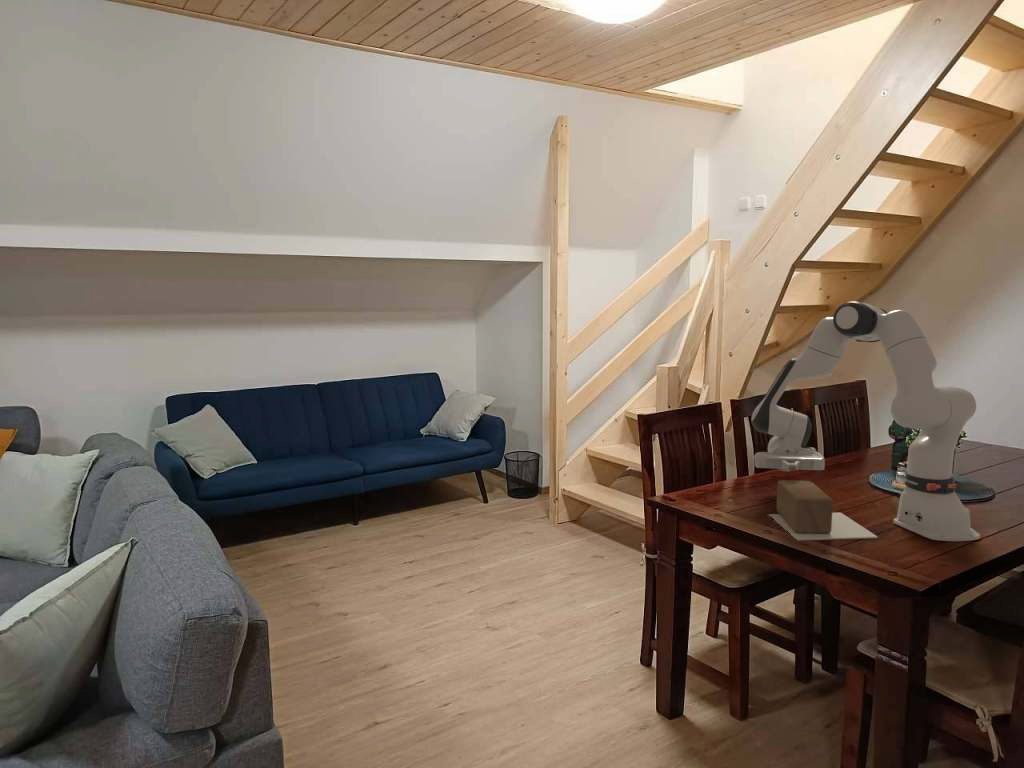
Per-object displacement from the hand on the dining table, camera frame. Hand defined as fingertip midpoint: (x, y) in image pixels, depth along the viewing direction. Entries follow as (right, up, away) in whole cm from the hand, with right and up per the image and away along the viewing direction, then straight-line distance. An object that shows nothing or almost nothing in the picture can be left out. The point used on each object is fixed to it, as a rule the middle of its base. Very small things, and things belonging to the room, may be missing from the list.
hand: (792, 467), depth 219 cm
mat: (+4, -16, -10) cm, 19 cm away
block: (+1, -8, +1) cm, 9 cm away
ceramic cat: (+63, -7, +46) cm, 79 cm away
